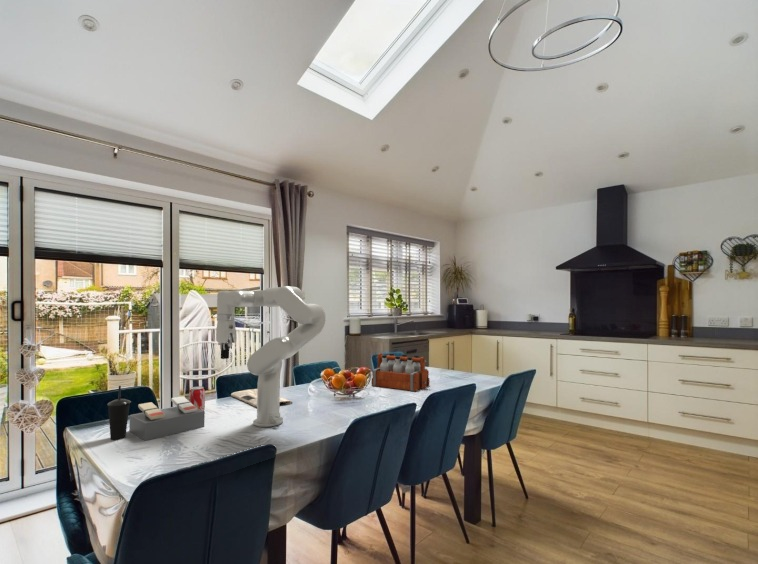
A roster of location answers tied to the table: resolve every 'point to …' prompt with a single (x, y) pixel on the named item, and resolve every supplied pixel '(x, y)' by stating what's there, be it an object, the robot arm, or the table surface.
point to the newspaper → (252, 397)
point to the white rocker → (184, 404)
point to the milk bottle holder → (400, 372)
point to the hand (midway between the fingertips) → (224, 358)
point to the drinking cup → (118, 417)
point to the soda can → (197, 397)
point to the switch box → (165, 423)
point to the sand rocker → (151, 410)
